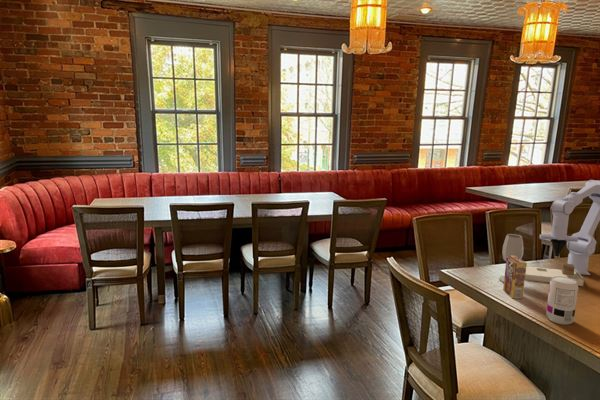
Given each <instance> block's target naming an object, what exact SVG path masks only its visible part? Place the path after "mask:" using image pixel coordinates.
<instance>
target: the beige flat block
mask: <svg viewBox="0 0 600 400" xmlns="http://www.w3.org/2000/svg"><path fill="white" fill-rule="evenodd" d="M556 276H561V277H567V278H571V279H573V280H575V281H576V282H577V285H578V287H579V286H580V287H584V280H585V278H584V276H582V274H579V272H578V271H577V270H576V269H574V276H573V275H565V274H563V273H562V269H555V268H547V267H546V268H545V267H536V266H526V274H525V281H532V282H534V281H535V282H540V283H541V282H542V283H550V281H551V280H552V278H553V277H556Z"/></svg>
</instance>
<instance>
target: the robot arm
mask: <svg viewBox="0 0 600 400" xmlns="http://www.w3.org/2000/svg"><path fill="white" fill-rule="evenodd" d="M587 197H589V199H591V200H592V204H591V207H590V208H589V211H588V213H587V215H586V217H585V218H584V221H583V224H582V225H581V228H580V230H579V231H578V232H575V233H573V234H572V235H570V236H569V235H567V234H568V226H569V217H570V214H571V213H572V212H573V211H574V209H575V207H577V206H579V205H580V204H582V203H583V199H585V198H587ZM550 208H551V215H552V216H553V218H552V224H551V225H552V227H551V233H550V234H544V233H543V234H539V239H540V240H548V241H550V243H551V245H552V248H553V256H555V257H559V256H560V254H561V252H562V250H563V249H564V247H565V246H566V248H567V250H568V251H569V252H568V255H567V256H568V257H567V262H566V263H567V264H573V265H574V267H575V268H574V269H576V270H577V271H578V272H579V274H580V275H586V276H591V273H590V272H589V271H588V266H589V259H590V256H592V254H594V253H595V251H596V246H597V243H598V242H597V240H596V239H595V238H594V234H595V232H596V229H597V227H598V224H599V223H600V180H594V179H589V180H588V181H586V182H585V184H584V186H583V187H582V188H581V189H580V190H579V191H577V192H576V191H571V192H569V194H567V195H566V196H564V197H563V198H561V199H555V200H554V201H553V202H552V204H551V206H550Z"/></svg>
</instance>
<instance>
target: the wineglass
mask: <svg viewBox="0 0 600 400" xmlns="http://www.w3.org/2000/svg"><path fill="white" fill-rule="evenodd" d="M524 248H525V247H524V239H523V236H522V235H520V234H514V233H507V234H506V236H505V239H504V242H503V245H502V252H501V253H502V259H503V260H504V261H505V262H506V259H507V256H517V257H519V258H520V259H522V258H523V256H524V250H525V249H524ZM522 260H523V259H522ZM504 277H505V275H502V276H500V277H498V280H499V281H500V282H501V283H503V284H504Z"/></svg>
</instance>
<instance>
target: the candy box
mask: <svg viewBox="0 0 600 400" xmlns="http://www.w3.org/2000/svg"><path fill="white" fill-rule="evenodd" d="M527 265H528V262H526V261H525V260H524V259H520V258H519V257H517V256H507V259H506V261H505V269H504V276H505V277H504V283H503V288H502V289H503V291H504V292H505V293H506V294H507V295H509V297H511V299H515V300H516V299H517V300H518V299H519V300H522V299H523V296H524V289H525V282H526V280H525V274H526V266H527Z"/></svg>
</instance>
